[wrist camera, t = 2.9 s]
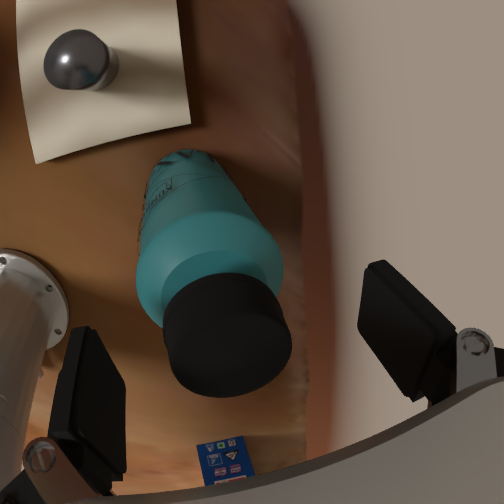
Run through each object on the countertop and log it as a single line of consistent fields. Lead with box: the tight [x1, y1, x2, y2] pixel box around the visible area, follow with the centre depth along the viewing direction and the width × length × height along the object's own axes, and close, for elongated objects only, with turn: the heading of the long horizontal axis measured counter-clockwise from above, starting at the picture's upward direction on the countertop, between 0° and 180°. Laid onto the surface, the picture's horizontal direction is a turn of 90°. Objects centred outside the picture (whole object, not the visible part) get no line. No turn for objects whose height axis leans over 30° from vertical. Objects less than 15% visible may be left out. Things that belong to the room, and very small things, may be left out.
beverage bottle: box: [136, 148, 292, 398], centre depth 18 cm, size 6×7×20 cm
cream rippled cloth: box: [16, 0, 191, 164], centre depth 17 cm, size 22×13×2 cm, turn 6°
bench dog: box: [43, 29, 119, 91], centre depth 16 cm, size 4×4×7 cm
